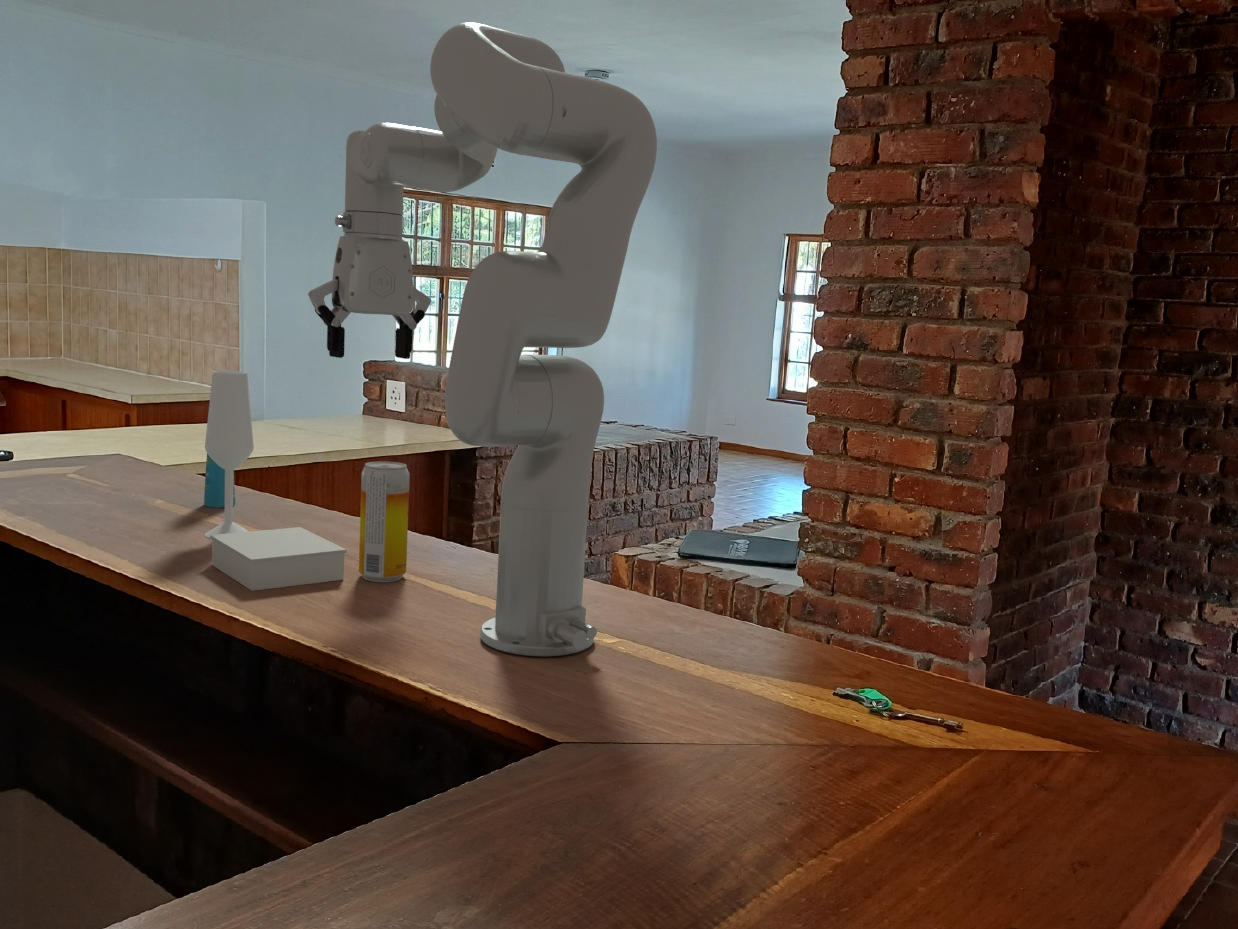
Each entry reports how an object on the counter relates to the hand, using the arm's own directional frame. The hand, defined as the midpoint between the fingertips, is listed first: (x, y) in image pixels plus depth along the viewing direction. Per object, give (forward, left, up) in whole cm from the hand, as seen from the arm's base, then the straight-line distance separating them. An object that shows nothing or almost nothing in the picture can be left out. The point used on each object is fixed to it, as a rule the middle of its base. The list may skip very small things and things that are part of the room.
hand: (370, 357), depth 147 cm
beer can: (-9, +2, -28) cm, 30 cm away
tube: (+43, +5, -28) cm, 52 cm away
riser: (-1, +13, -28) cm, 31 cm away
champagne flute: (+22, +11, -28) cm, 37 cm away
